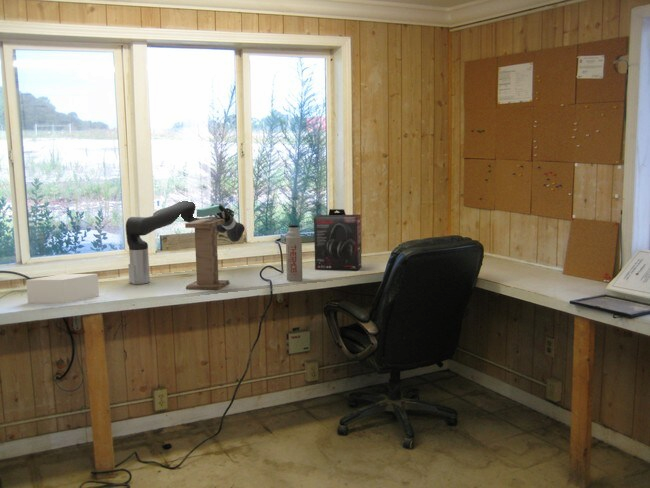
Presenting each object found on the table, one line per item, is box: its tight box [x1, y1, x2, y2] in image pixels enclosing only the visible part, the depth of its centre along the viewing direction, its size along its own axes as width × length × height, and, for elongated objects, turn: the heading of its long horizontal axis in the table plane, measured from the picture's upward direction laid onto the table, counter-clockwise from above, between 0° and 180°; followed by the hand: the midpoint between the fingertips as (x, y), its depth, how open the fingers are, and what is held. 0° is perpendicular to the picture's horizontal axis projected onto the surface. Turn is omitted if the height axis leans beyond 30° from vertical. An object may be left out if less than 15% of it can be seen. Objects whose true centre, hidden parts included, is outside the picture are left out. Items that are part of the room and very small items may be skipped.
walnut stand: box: [184, 219, 230, 291], centre depth 319 cm, size 20×16×32 cm
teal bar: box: [196, 204, 224, 218], centre depth 322 cm, size 26×4×4 cm, turn 168°
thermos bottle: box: [285, 224, 303, 282], centre depth 331 cm, size 8×8×28 cm
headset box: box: [313, 208, 362, 271], centre depth 361 cm, size 24×13×33 cm, turn 77°
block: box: [25, 273, 100, 304], centre depth 296 cm, size 15×30×11 cm, turn 114°
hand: (215, 206), depth 329 cm, fingers closed on teal bar, 3 cm apart
